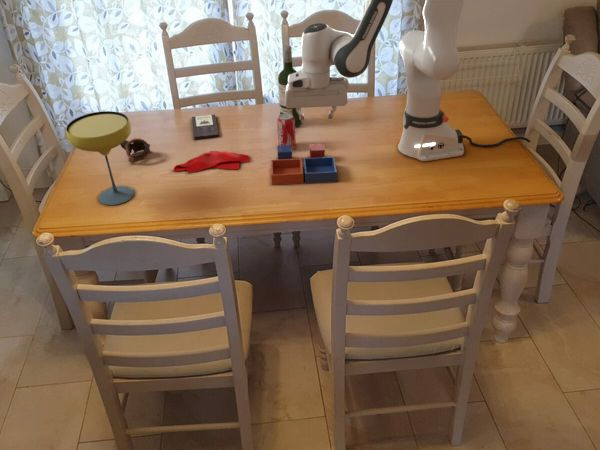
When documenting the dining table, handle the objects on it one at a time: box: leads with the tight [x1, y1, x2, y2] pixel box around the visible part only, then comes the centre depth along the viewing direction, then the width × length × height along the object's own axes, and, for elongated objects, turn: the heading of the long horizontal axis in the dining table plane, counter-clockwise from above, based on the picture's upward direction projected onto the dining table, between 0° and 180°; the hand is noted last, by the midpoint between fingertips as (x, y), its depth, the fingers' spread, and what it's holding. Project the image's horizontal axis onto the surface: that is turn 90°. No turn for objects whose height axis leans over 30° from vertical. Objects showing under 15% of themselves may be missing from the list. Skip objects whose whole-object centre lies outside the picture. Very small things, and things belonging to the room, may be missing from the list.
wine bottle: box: [277, 44, 302, 128], centre depth 208 cm, size 8×8×30 cm
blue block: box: [276, 145, 293, 160], centre depth 191 cm, size 5×5×5 cm
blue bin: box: [302, 156, 338, 184], centre depth 184 cm, size 10×10×4 cm
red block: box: [309, 143, 326, 158], centre depth 192 cm, size 5×5×5 cm
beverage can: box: [276, 113, 297, 149], centre depth 197 cm, size 6×6×12 cm
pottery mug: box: [119, 138, 152, 165], centre depth 196 cm, size 12×9×8 cm
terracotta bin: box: [270, 157, 305, 186], centre depth 184 cm, size 10×10×4 cm
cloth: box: [172, 150, 251, 174], centre depth 193 cm, size 26×14×2 cm, turn 94°
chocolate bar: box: [191, 114, 219, 140], centre depth 215 cm, size 9×1×18 cm
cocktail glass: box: [65, 110, 135, 206], centre depth 171 cm, size 18×18×25 cm
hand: (316, 118), depth 184 cm, fingers open, 8 cm apart
